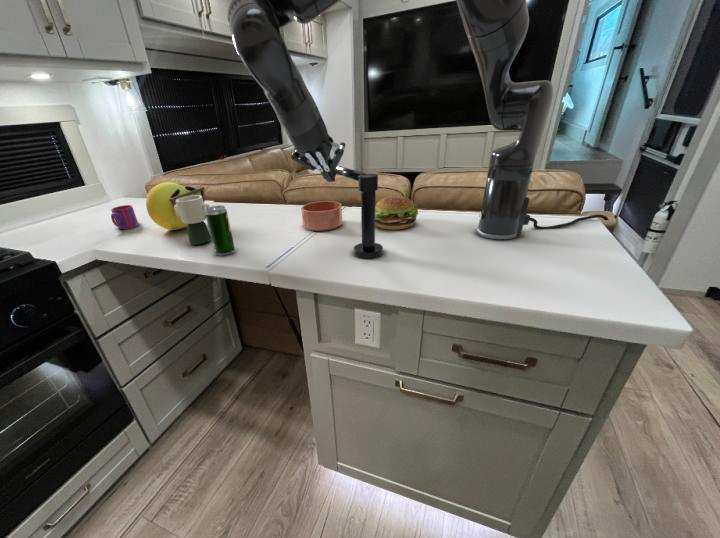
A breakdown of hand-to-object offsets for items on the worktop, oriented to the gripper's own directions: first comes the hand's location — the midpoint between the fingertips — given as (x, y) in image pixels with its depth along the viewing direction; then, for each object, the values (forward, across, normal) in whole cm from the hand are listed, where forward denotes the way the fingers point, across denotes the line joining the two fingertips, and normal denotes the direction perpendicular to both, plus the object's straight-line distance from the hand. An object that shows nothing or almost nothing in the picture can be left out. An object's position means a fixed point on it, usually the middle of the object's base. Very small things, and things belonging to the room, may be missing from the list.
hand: (331, 178), depth 78 cm
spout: (+6, +2, +1) cm, 6 cm away
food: (+27, +9, +4) cm, 29 cm away
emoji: (+12, -59, -8) cm, 61 cm away
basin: (+22, -12, +1) cm, 25 cm away
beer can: (+4, -29, -19) cm, 35 cm away
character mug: (+7, -41, -15) cm, 44 cm away
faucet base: (+12, +9, -13) cm, 20 cm away
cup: (+8, -81, -10) cm, 82 cm away
